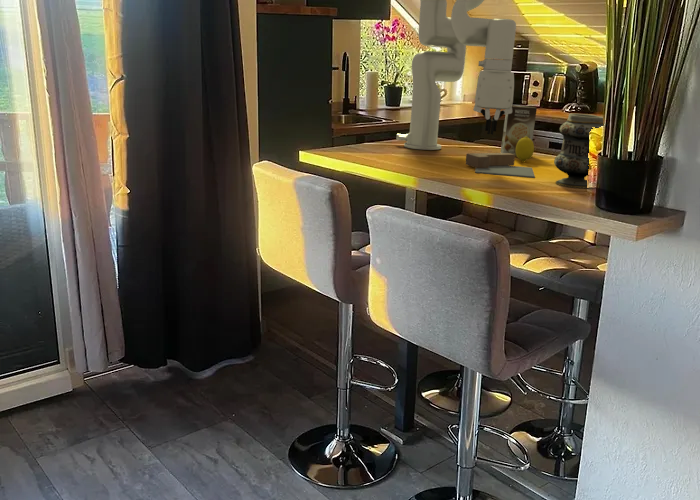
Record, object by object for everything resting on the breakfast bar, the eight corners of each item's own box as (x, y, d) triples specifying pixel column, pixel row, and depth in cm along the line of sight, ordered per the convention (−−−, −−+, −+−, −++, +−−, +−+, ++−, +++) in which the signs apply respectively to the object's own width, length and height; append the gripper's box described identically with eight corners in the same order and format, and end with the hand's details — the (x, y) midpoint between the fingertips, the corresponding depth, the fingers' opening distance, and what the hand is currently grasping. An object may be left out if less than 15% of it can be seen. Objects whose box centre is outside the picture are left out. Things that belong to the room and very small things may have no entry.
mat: (474, 172, 188) (475, 171, 188) (476, 164, 203) (476, 163, 203) (534, 177, 185) (534, 176, 185) (531, 168, 200) (531, 167, 200)
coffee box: (502, 155, 225) (508, 106, 220) (500, 153, 231) (505, 104, 226) (530, 157, 224) (537, 107, 220) (527, 154, 230) (533, 106, 226)
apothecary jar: (609, 189, 174) (621, 118, 169) (568, 189, 170) (579, 116, 165) (581, 180, 185) (591, 113, 180) (542, 180, 182) (551, 111, 177)
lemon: (533, 162, 214) (537, 136, 212) (530, 164, 209) (533, 137, 207) (516, 160, 216) (519, 134, 214) (512, 162, 212) (515, 136, 209)
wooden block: (466, 153, 198) (508, 152, 204) (465, 164, 199) (507, 163, 205) (478, 156, 192) (522, 156, 198) (477, 168, 193) (521, 167, 199)
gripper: (469, 65, 185) (462, 133, 190) (526, 68, 182) (517, 137, 187) (470, 64, 192) (464, 130, 197) (525, 67, 189) (517, 134, 194)
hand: (490, 133), depth 192 cm, fingers closed
